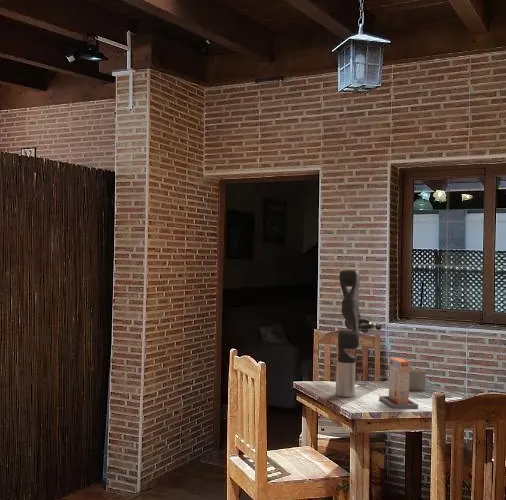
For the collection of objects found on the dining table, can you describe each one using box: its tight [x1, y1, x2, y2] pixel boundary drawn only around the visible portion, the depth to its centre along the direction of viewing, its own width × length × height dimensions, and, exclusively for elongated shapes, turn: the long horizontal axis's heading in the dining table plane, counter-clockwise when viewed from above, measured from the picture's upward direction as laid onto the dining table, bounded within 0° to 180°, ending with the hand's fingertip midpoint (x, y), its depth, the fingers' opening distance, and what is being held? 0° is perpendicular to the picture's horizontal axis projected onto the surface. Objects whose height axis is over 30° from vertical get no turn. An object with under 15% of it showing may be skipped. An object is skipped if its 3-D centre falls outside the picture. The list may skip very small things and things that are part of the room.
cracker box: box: [388, 357, 411, 404], centre depth 329 cm, size 14×6×21 cm, turn 6°
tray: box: [379, 395, 419, 409], centre depth 327 cm, size 13×20×2 cm, turn 8°
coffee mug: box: [409, 368, 427, 391], centre depth 370 cm, size 13×10×10 cm
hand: (371, 328), depth 356 cm, fingers open, 8 cm apart
